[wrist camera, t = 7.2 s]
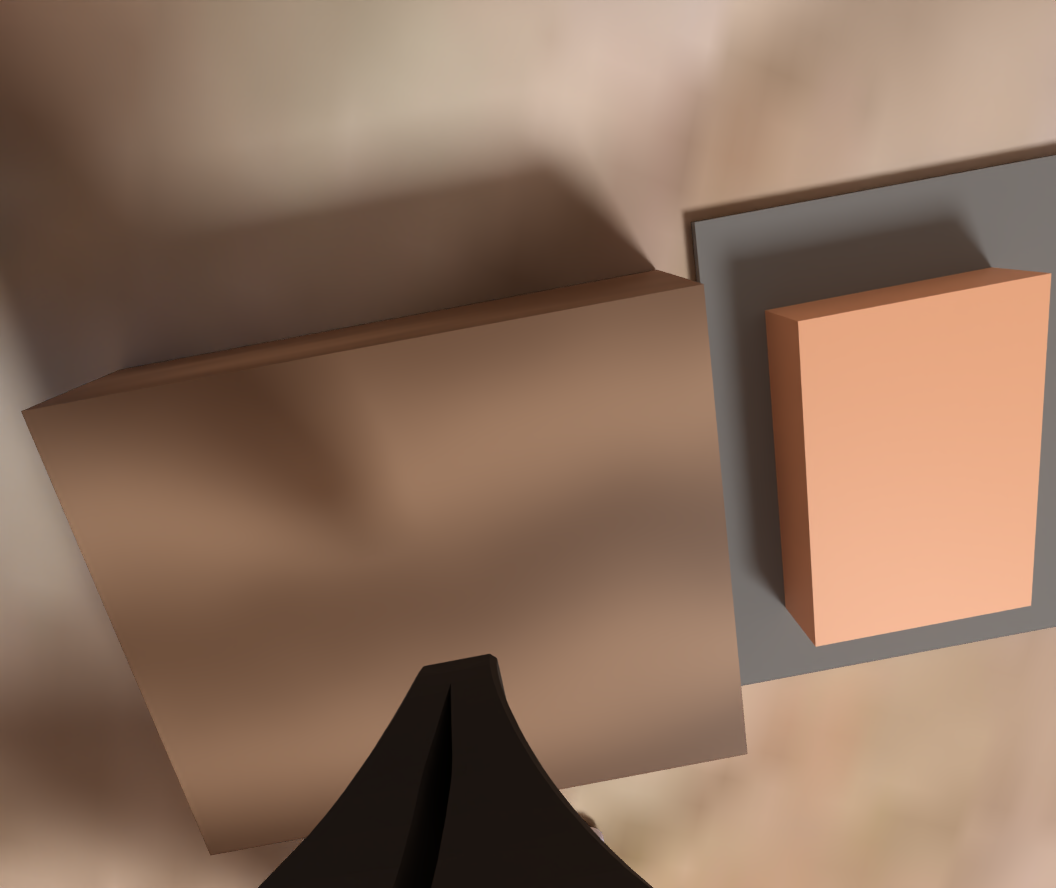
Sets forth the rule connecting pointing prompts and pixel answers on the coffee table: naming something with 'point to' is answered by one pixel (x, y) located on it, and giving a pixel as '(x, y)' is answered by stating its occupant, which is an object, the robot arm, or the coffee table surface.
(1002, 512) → the peach rectangular block
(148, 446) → the tan flat block
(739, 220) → the mat
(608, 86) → the coffee table surface
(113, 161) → the coffee table surface
